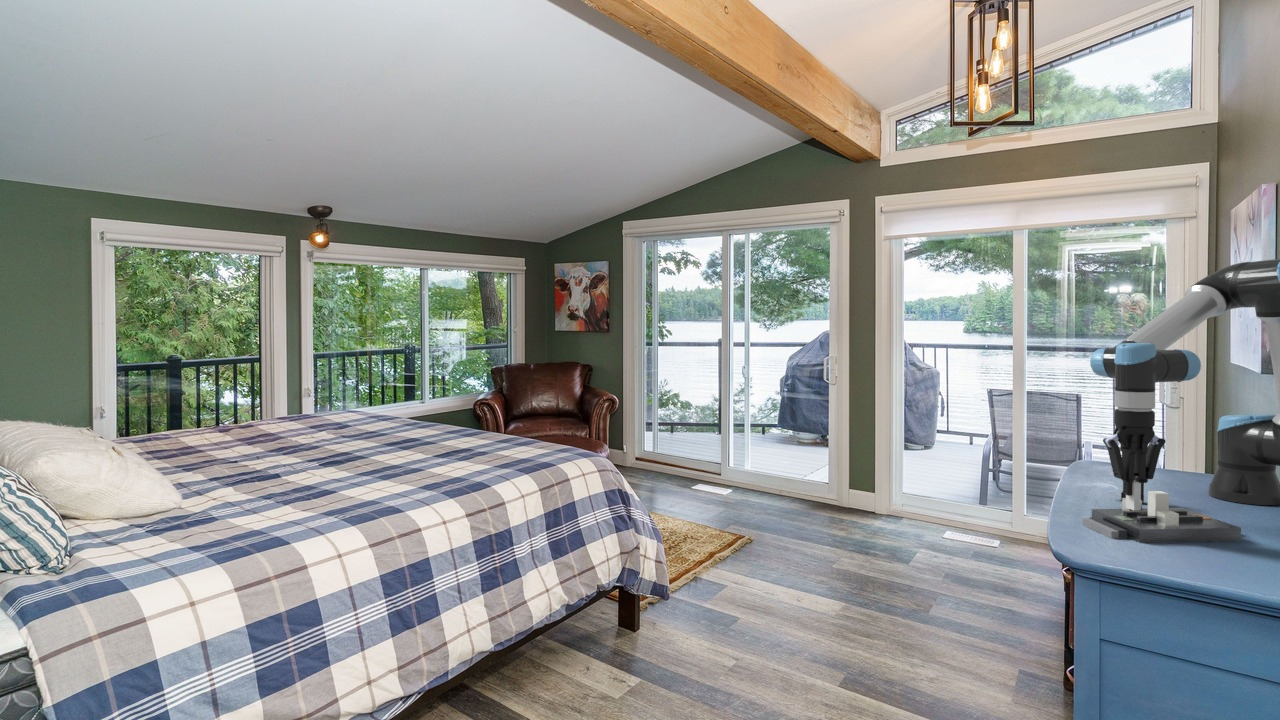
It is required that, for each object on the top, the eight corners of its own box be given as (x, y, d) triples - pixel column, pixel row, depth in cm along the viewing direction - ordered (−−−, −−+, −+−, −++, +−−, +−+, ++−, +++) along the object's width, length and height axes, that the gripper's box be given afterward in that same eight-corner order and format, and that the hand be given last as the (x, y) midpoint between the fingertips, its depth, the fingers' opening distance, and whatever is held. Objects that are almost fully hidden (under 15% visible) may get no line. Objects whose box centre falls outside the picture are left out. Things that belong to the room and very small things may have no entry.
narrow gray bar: (1096, 524, 157) (1096, 517, 157) (1126, 538, 147) (1126, 530, 147) (1082, 524, 157) (1082, 517, 157) (1111, 538, 147) (1111, 530, 147)
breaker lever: (1160, 515, 153) (1160, 490, 152) (1168, 519, 150) (1168, 493, 150) (1147, 516, 153) (1147, 491, 152) (1155, 519, 150) (1155, 493, 150)
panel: (1182, 519, 159) (1182, 495, 159) (1240, 541, 143) (1241, 514, 143) (1091, 520, 160) (1091, 497, 160) (1139, 542, 144) (1139, 516, 144)
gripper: (1150, 406, 154) (1149, 503, 155) (1095, 407, 154) (1094, 504, 155) (1175, 410, 146) (1174, 512, 148) (1117, 411, 147) (1116, 513, 148)
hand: (1133, 508), depth 151 cm, fingers closed
